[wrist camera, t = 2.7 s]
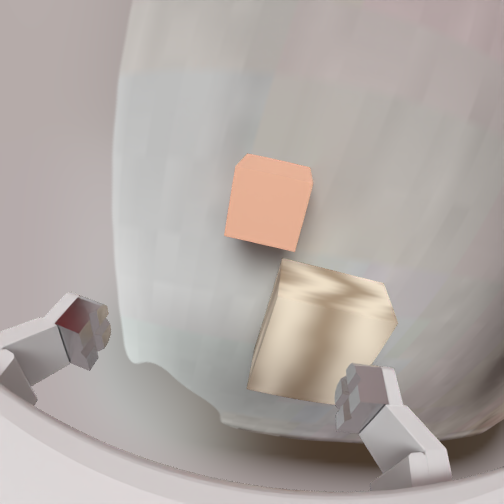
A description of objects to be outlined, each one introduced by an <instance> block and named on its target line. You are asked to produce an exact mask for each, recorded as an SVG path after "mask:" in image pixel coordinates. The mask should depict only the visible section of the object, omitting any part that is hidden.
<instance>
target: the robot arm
mask: <svg viewBox="0 0 504 504" xmlns="http://www.w3.org/2000/svg"><path fill="white" fill-rule="evenodd" d="M107 315H108V308H107V306H106V305H104V304H102V303H99V302H96V301H93V300H91V299H88V298H86V297H83V296H80V295H78V294H75V293H73V292H69V293H67V294H65V295H64V297H63V298H62V299H61V300H60V301H59V302H58V303H57V304H56V305H55V306H54V307H53V308H52V309H51V310H50V312H48V314H47V315H46V316H45V317H44V318H40V317H39V318H37V319H34V320H31V321H28V322H26V323H23V324H20V325H17V326H15V327H12V328H9V329H6V330H4V331H1V332H0V504H504V466H503V467H500V468H497V469H494V470H491V471H487V472H484V473H480V474H477V475H473V476H469V477H465V478H460V479H456V480H452V474H451V469H450V464H449V459H448V455H447V450H446V448H445V447H444V446H443V445H442V444H441V443H440V441H439V440H438V439H437V438H436V437H435V436H434V435H433V434H432V433H431V432H430V430H429V429H428V428H427V427H426V426H425V425H424V424H423V423H422V422H421V421H420V419H419V418H418V417H417V416H416V415H415V414H414V413H413V412H412V411H411V410H410V409H409V407H408V406H405V405H403V402H402V398H401V394H400V390H399V385H398V382H397V378H396V374H395V370H394V369H393V368H392V367H383V366H374V365H366V364H357V363H351V364H350V365H349V366H348V368H347V369H346V376H345V377H343V378H341V379H340V381H339V383H338V384H337V387H336V391H335V405H336V406H337V408H338V409H339V411H338V412H337V413H336V415H335V419H336V431H337V432H348V433H360V434H359V436H360V437H361V439H362V441H363V442H364V444H365V445H366V447H367V448H368V450H369V452H370V453H371V455H372V457H373V458H374V460H375V461H376V463H377V465H378V466H379V468H380V469H381V471H382V473H383V475H381V476H379V477H378V478H377V479H375V480H374V481H372V482H371V483H370V491H356V492H326V491H325V492H324V491H303V490H290V489H281V488H272V487H263V486H257V485H250V484H244V483H238V482H233V481H227V480H222V479H218V478H213V477H209V476H205V475H200V474H196V473H192V472H188V471H185V470H181V469H178V468H174V467H171V466H168V465H164V464H161V463H158V462H155V461H152V460H149V459H146V458H143V457H140V456H138V455H135V454H132V453H130V452H127V451H124V450H122V449H119V448H117V447H115V446H112V445H110V444H107V443H105V442H103V441H100V440H98V439H96V438H94V437H91V436H89V435H87V434H85V433H83V432H81V431H79V430H77V429H75V428H73V427H71V426H69V425H67V424H65V423H63V422H61V421H59V420H58V419H56V418H54V417H52V416H51V415H49V414H47V413H45V412H44V411H42V410H40V409H38V408H37V407H35V406H34V405H35V403H36V402H37V396H36V394H35V393H34V391H33V389H32V387H31V386H33V385H34V384H36V383H38V382H40V381H41V380H43V379H45V378H47V377H48V376H50V375H52V374H54V373H55V372H57V371H59V370H60V369H62V368H64V367H65V366H67V365H69V364H70V363H72V364H74V365H77V366H79V367H82V368H84V369H87V370H89V371H90V370H91V368H92V367H93V365H94V364H95V362H96V361H97V359H98V351H100V350H102V349H104V348H105V347H106V345H107V343H108V341H109V338H110V334H111V327H110V323H109V322H108V320H107V319H106V317H107Z"/></svg>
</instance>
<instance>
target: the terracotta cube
mask: <svg viewBox="0 0 504 504" xmlns="http://www.w3.org/2000/svg"><path fill="white" fill-rule="evenodd" d="M312 186H313V180H312V175H311V170H310V167H306V166H302V165H298V164H294V163H289V162H285V161H280V160H276V159H271V158H267V157H262V156H257V155H252V154H247V155H246V156H245V157H244V158H243V159H242V160H241V161H240V162H239V163H238V164H237V165H236V167H235V172H234V178H233V184H232V190H231V196H230V202H229V208H228V215H227V221H226V227H225V234H224V236H227V237H232V238H236V239H240V240H245V241H249V242H254V243H258V244H262V245H267V246H271V247H276V248H280V249H284V250H289V251H293V252H295V249H296V246H297V242H298V238H299V235H300V231H301V228H302V224H303V220H304V217H305V213H306V209H307V205H308V202H309V198H310V194H311V190H312Z"/></svg>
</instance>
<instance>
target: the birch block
mask: <svg viewBox="0 0 504 504" xmlns="http://www.w3.org/2000/svg"><path fill="white" fill-rule="evenodd" d="M397 324H398V322H397V319H396V316H395V313H394V310H393V307H392V305H391V302H390V299H389V296H388V294H387V291H386V288H385V286H384V283H380V282H376V281H372V280H368V279H364V278H360V277H356V276H352V275H349V274H345V273H341V272H337V271H333V270H329V269H325V268H321V267H317V266H313V265H309V264H305V263H301V262H297V261H293V260H289V259H285V258H282V261H281V264H280V267H279V271H278V274H277V277H276V281H275V284H274V287H273V291H272V294H271V297H270V301H269V304H268V307H267V310H266V314H265V317H264V320H263V323H262V326H261V330H260V333H259V336H258V339H257V342H256V345H255V349H254V354H253V359H252V364H251V369H250V374H249V379H248V384H247V389H249V390H253V391H258V392H263V393H267V394H272V395H277V396H283V397H288V398H293V399H299V400H305V401H311V402H318V403H325V404H332V405H335V391H336V387H337V384H338V383H339V381H340V379H341V378H343V377H345V376H346V369H347V368H348V366H349V365H350V364H351V363H357V364H366V365H371V364H372V363H373V361H374V360H375V358H376V357H377V355H378V354H379V352H380V351H381V349H382V348H383V346H384V345H385V343H386V342H387V340H388V339H389V337H390V335H391V334H392V332H393V331H394V329H395V327H396V326H397Z"/></svg>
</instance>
